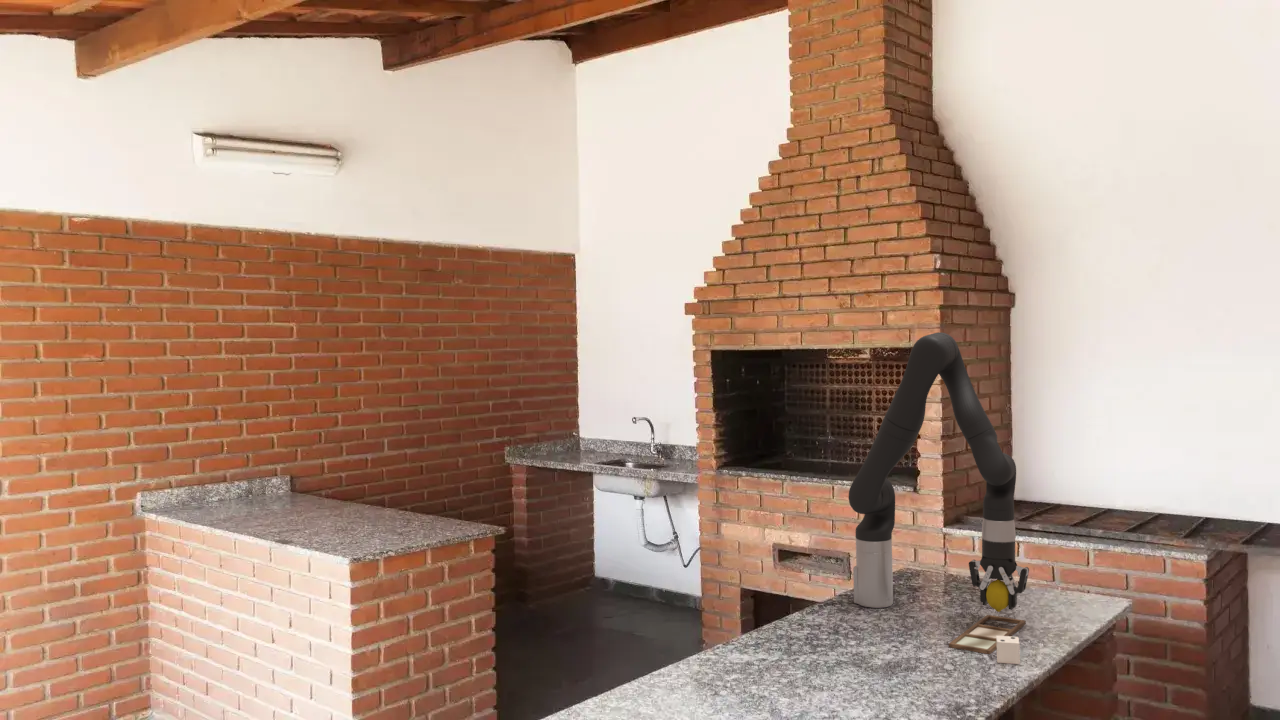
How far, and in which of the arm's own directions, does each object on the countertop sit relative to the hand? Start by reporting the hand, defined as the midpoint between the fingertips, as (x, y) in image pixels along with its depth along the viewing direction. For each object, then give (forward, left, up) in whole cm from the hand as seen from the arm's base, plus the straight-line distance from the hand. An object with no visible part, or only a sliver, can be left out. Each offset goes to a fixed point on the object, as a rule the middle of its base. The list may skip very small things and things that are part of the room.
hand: (998, 606), depth 238 cm
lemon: (0, 0, -2) cm, 2 cm away
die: (+9, -23, -5) cm, 26 cm away
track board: (0, -9, -5) cm, 10 cm away
